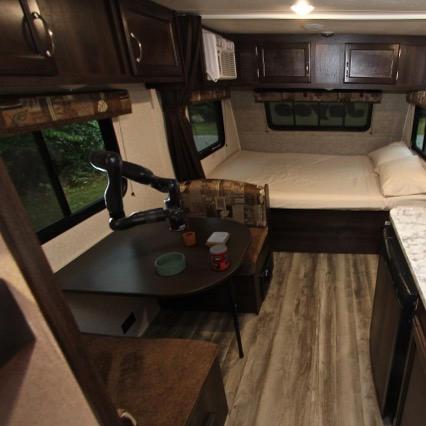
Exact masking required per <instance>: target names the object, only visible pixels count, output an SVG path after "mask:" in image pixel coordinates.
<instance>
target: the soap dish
mask: <svg viewBox="0 0 426 426" xmlns="http://www.w3.org/2000/svg"><path fill="white" fill-rule="evenodd" d="M229 239H230V233H229V232H225V231H214V232H212V234H211V235H210V236H209V237H208V239H207V240H206V243H205V245H206V247H207V248H209V249H210V248H211V247H213V246H215V245H225V246H226V244H227V242H228V241H229Z"/></svg>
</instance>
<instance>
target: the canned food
mask: <svg viewBox="0 0 426 426" xmlns="http://www.w3.org/2000/svg"><path fill="white" fill-rule="evenodd" d="M209 254H210V260H211V265H212V269H213V271H219V272H221V271H225V270H226V269H228V268H229V266H230V262H229V254H228V247H227V245H226V244H225V245H215V246H213V247H211V248H209Z"/></svg>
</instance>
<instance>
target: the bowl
mask: <svg viewBox="0 0 426 426" xmlns="http://www.w3.org/2000/svg"><path fill="white" fill-rule="evenodd" d="M154 267H155V270H156V273H157V275H159V276H161V277H171V276H175V275H177V274H180V273H181V272H183V271H184V270H185V269H186V268H187V261H186V256H185V254H184V253H182V252H180V251H173V252H167V253H164V254H162V255H159V257H157V258H156V259H155V261H154Z"/></svg>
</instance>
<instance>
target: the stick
mask: <svg viewBox="0 0 426 426" xmlns="http://www.w3.org/2000/svg"><path fill="white" fill-rule="evenodd" d="M180 203H181V208H182V210H183V209H186V207H187V206H186V203H185V199H181V200H180ZM183 218H184V223H185V231H190V230H191V229H190V224H189V219H188V213H184V214H183Z"/></svg>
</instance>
